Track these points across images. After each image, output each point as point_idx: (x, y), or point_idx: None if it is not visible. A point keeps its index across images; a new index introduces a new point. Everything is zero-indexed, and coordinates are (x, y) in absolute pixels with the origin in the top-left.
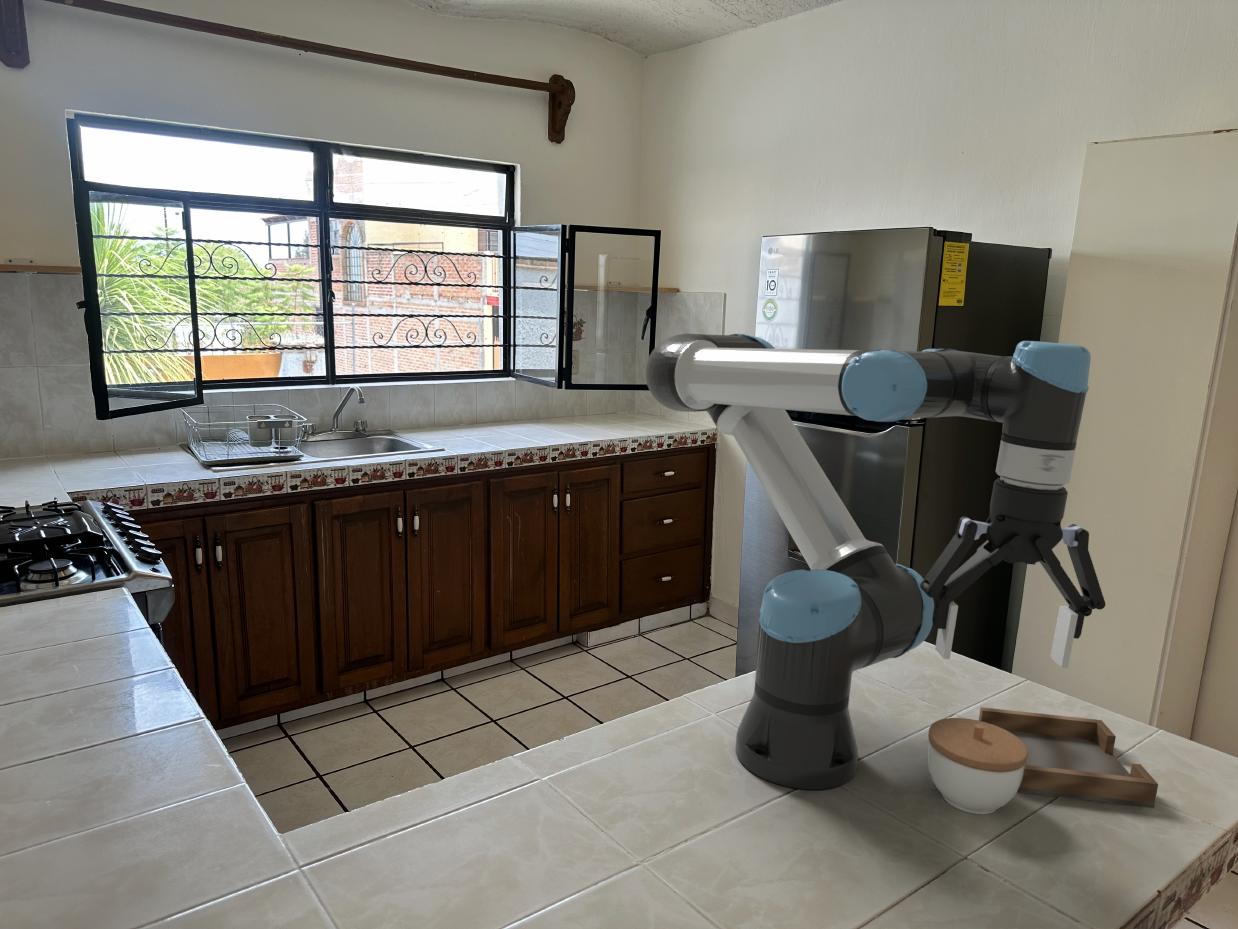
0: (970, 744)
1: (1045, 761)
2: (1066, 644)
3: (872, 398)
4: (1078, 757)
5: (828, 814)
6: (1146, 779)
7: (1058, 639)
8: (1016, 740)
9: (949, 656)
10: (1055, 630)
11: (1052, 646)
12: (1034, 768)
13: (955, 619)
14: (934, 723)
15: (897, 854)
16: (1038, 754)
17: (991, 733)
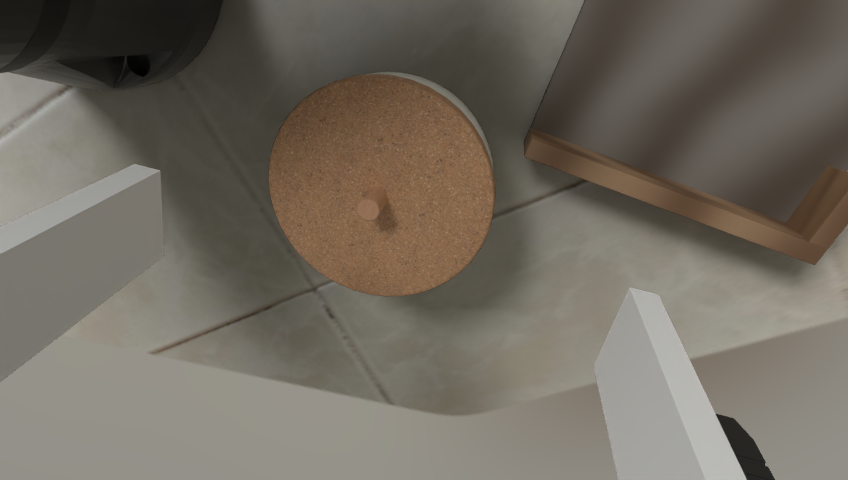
0: (341, 222)
1: (696, 50)
2: (613, 446)
3: None
4: (814, 42)
5: (135, 157)
6: (807, 245)
7: (637, 388)
8: (473, 221)
9: (153, 261)
10: (663, 377)
11: (640, 320)
12: (564, 164)
13: (21, 362)
14: (303, 106)
15: (216, 264)
16: (709, 12)
17: (426, 184)
